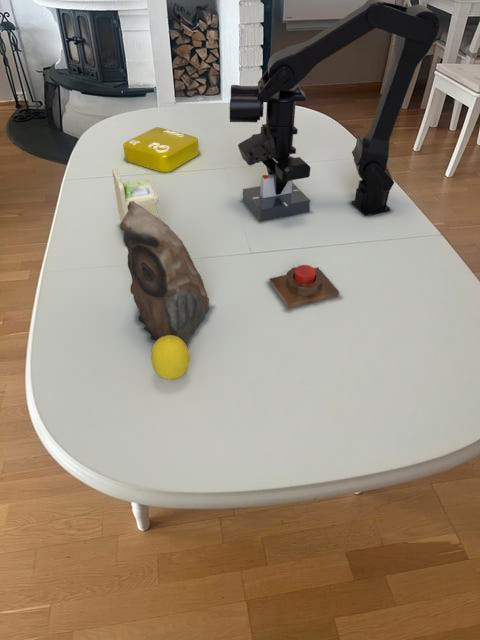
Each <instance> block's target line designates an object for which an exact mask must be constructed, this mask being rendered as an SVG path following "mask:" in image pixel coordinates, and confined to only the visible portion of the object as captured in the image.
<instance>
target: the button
mask: <svg viewBox="0 0 480 640" xmlns="http://www.w3.org/2000/svg"><path fill="white" fill-rule="evenodd" d="M296 267H297V268H296V269H295V277H294V279H295V281H296V282H299V283H301V284H310V283H313V282H314V280H315V273H316V271H315V269H314V268H315V267H313V266H311V265H307V264H301V265H298V266H296Z"/></svg>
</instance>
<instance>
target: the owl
mask: <svg viewBox="0 0 480 640" xmlns="http://www.w3.org/2000/svg"><path fill="white" fill-rule="evenodd" d="M127 207H128V212H127V214H126V215H125V217H124V218H123V220H122V222H120V225H119V228H120V229H121V231H122V232H123V231H124V232H123V244H124V245H125V247H126V249H127V252H128V253H127V268H128V270H129V273H130V277H131V284H130V289H129V290H130V293H131V295H132V296H133V301H134V303H135V305H136V307H137V309H138V311H139V316H138V317H137V318H138V322H139V323H142V324H143V325H144V328H143V330H144V331H146V332H148V333H149V335H150V337H149V338H150V340H152V341H155V342H156V341H157V340H158V339H159V338H161V337H163V336H166V335H174V336H177V337H179V338H180V339H182V340H183V341H184V343H185V344H186V345H187V342H189V340H190V339H189V338H190V337H191V336H192V335H194V334H195V331H196V329H197V328H198V327H199V325H200V324H201V323H203V322H204V320H205V319H206V317H207V314H208V313H209V311H210V309H211V306H210V298H209V297H208V293H207V290H206V287H205V283H204V280H203V279H202V276H201V274H200V273H199V271H198V269H197V268H196V266H195V264H194V262H193V259H192V257H191V255H190V252H189V251H188V248H187V247H186V246H185V244H184V242H183V240H182V239H181V238H180V237H179V236H178V235H177V234H176V232H174V231H173V229H172V228H171V227H170V226H169V225H168V224H167V223H166V222H164V221H163V220H161V218H159V217H158V218H157V217H156V216H154V215H153V214H151V213H150V212H148V211H147V210H146V209H144V208H143V207H142V206H140V205H138V204H136V203H135V202H134V201H131V202H129V205H128V206H127Z"/></svg>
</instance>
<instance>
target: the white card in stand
mask: <svg viewBox="0 0 480 640" xmlns="http://www.w3.org/2000/svg"><path fill="white" fill-rule="evenodd" d="M293 181H294V180H291V181H288V183H287V184H286V186H285V188H284V189H283V191H282V192H281V194H279V195H284V194H289V193H292V183H294V182H293ZM260 186H261V192H260V195H261V196H262V198H268V197H273V196H278V195H276V194H275V185H274V174H273V175H268V174H263V175H261V176H260Z"/></svg>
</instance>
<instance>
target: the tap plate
mask: <svg viewBox="0 0 480 640" xmlns="http://www.w3.org/2000/svg"><path fill="white" fill-rule="evenodd" d="M260 192H261V185H258V186H253V187H247V188H243V189H242V202H243V203H244V205H245V207H247V208H248V210H249V211H250V212H251V213H252V214H253V216H254V217H255V219H257V221H258V222H259V223H261V222H266V221H273V220H275V219H276V220H277V219H280V218H281V219H282V218H286V217H291V216H297V215H301V214H302V215H303V214H306V213H310V206H311V199H310V198H309V197H308V196H307V195H306V194H305V193H304V192H303V191H302V190H300V188H299V187H298V186H297V185H296V184H295V183H294V182H292V193H289V194H284V195H278V196H273V197H268V198H262V196H261V195H260Z"/></svg>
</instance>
